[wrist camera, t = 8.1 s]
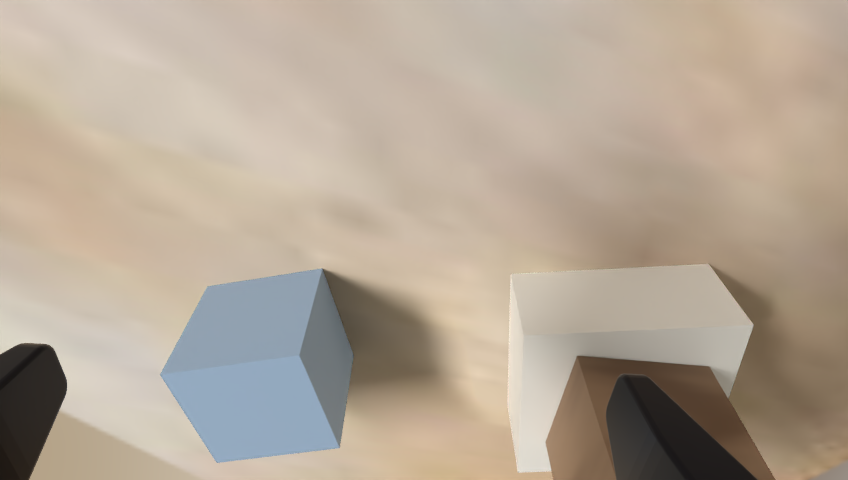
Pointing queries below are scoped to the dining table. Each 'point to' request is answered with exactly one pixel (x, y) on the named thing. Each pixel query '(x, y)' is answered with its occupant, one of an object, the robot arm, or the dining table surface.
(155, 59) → the dining table surface
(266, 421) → the slate-blue cube
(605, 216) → the dining table surface
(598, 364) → the walnut cube
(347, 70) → the dining table surface
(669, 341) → the pedestal block
